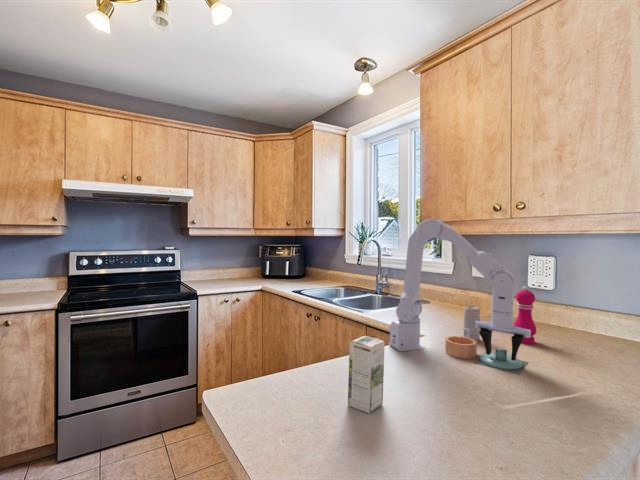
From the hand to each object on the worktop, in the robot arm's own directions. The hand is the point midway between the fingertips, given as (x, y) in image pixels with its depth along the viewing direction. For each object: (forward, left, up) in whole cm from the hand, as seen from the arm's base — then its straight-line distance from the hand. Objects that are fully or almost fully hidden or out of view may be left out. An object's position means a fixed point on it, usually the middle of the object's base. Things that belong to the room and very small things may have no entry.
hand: (500, 356), depth 101 cm
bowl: (-6, +10, -2) cm, 12 cm away
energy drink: (+8, +21, -2) cm, 23 cm away
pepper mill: (+26, +15, -2) cm, 30 cm away
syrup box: (-49, -11, -2) cm, 50 cm away
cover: (0, 0, -2) cm, 2 cm away
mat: (0, 0, -2) cm, 2 cm away
